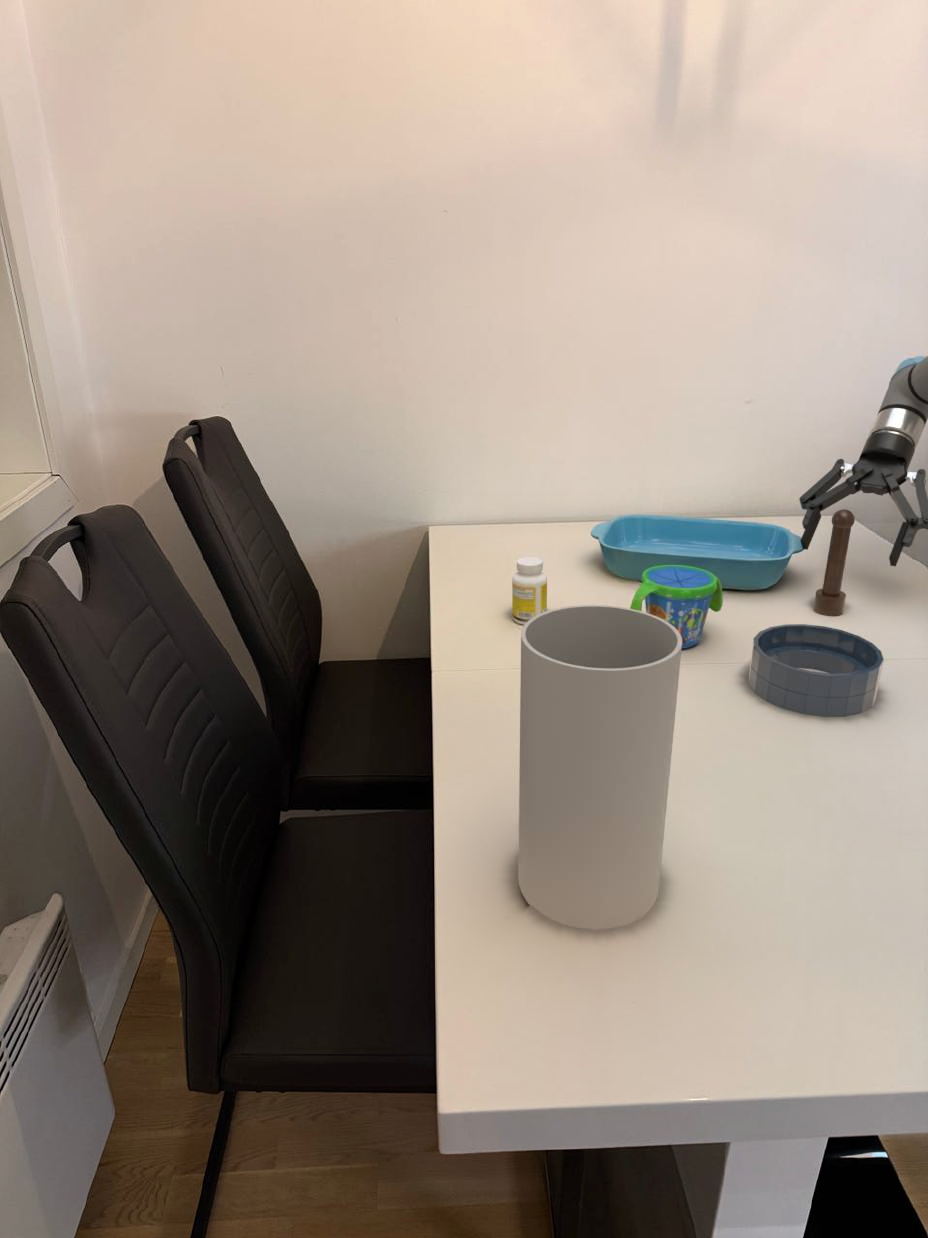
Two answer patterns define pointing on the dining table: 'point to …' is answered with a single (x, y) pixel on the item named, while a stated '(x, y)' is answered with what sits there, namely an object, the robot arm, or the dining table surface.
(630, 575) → the casserole dish
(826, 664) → the ring
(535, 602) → the supplement bottle
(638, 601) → the snack cup
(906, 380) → the robot arm
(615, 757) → the cylinder vase
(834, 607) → the pestle
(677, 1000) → the dining table surface
